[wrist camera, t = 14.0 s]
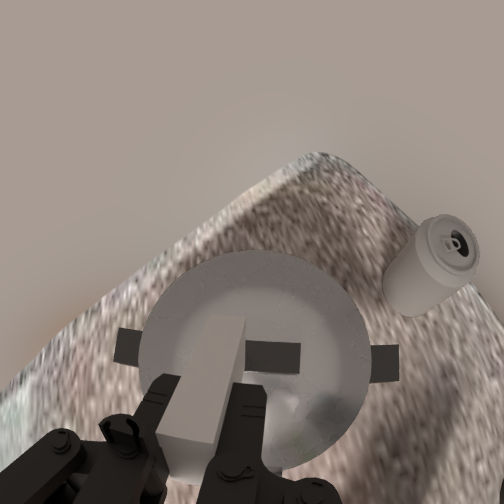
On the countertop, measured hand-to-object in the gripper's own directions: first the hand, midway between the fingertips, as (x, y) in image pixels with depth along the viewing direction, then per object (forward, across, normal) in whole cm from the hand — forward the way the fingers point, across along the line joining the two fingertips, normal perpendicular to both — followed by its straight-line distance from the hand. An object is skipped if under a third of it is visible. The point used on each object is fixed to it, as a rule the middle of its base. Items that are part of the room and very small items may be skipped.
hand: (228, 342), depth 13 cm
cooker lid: (+6, +1, -6) cm, 9 cm away
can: (+21, +18, -6) cm, 28 cm away
